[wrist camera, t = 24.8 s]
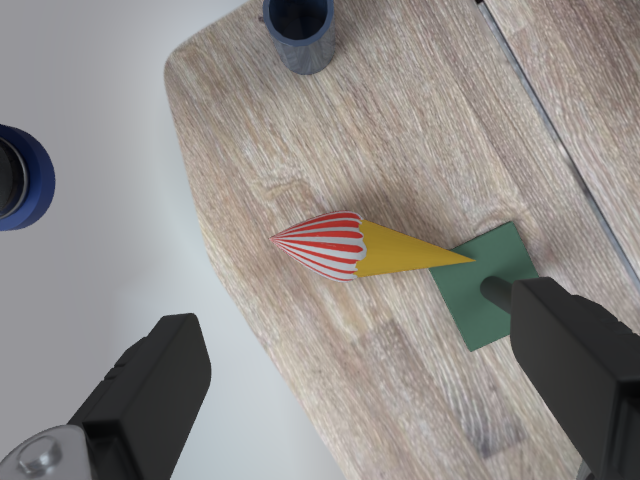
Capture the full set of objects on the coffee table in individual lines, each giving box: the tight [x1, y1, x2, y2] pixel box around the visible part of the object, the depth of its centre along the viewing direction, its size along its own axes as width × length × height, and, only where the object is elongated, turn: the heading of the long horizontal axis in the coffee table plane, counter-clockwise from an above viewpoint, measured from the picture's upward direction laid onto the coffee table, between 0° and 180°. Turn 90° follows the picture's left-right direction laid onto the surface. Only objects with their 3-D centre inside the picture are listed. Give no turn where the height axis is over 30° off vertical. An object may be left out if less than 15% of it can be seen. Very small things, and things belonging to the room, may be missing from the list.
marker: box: [480, 276, 513, 315], centre depth 31 cm, size 3×3×14 cm
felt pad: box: [429, 221, 539, 352], centre depth 38 cm, size 9×10×1 cm
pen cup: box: [263, 0, 336, 75], centre depth 34 cm, size 6×6×7 cm
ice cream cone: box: [268, 211, 476, 282], centre depth 37 cm, size 6×6×20 cm
